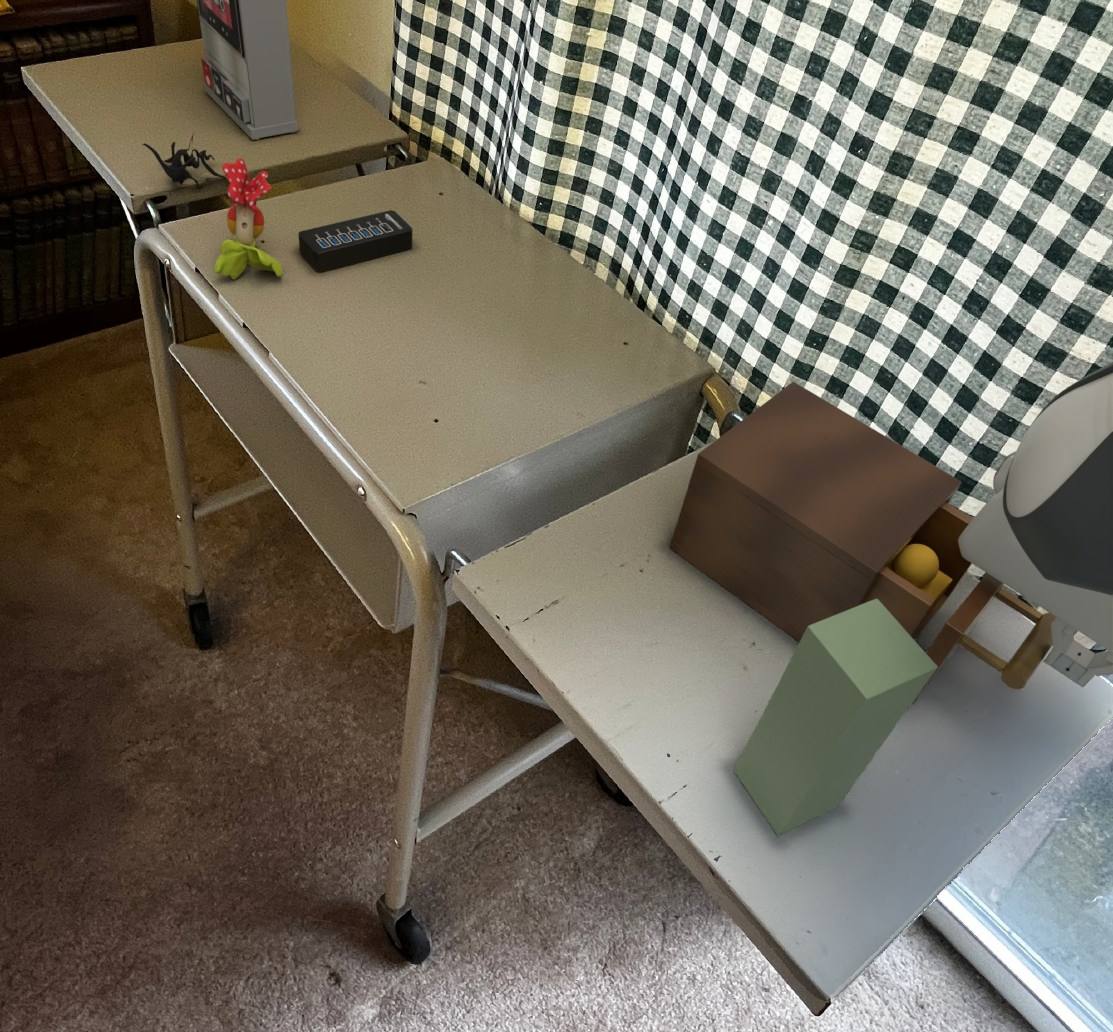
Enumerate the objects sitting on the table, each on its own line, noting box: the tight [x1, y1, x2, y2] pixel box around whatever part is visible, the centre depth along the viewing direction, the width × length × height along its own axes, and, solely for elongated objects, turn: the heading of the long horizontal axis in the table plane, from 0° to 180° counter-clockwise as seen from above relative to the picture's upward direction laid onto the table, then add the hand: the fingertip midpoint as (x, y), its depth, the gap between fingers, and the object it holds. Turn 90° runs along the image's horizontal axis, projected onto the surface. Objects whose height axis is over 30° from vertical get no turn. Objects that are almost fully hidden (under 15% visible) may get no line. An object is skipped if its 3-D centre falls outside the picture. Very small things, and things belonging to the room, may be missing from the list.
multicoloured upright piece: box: [213, 157, 283, 281], centre depth 92 cm, size 6×11×9 cm
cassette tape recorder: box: [196, 0, 299, 141], centre depth 108 cm, size 14×6×25 cm, turn 37°
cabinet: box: [669, 381, 962, 643], centre depth 73 cm, size 15×13×10 cm
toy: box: [886, 544, 952, 627], centre depth 69 cm, size 5×4×6 cm
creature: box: [142, 131, 228, 189], centre depth 103 cm, size 8×5×8 cm
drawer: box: [862, 502, 1056, 705], centre depth 69 cm, size 18×12×8 cm, turn 48°
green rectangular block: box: [733, 599, 938, 837], centre depth 57 cm, size 5×5×16 cm
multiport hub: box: [297, 209, 413, 274], centre depth 98 cm, size 4×11×2 cm, turn 126°
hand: (1065, 669), depth 64 cm, fingers closed
